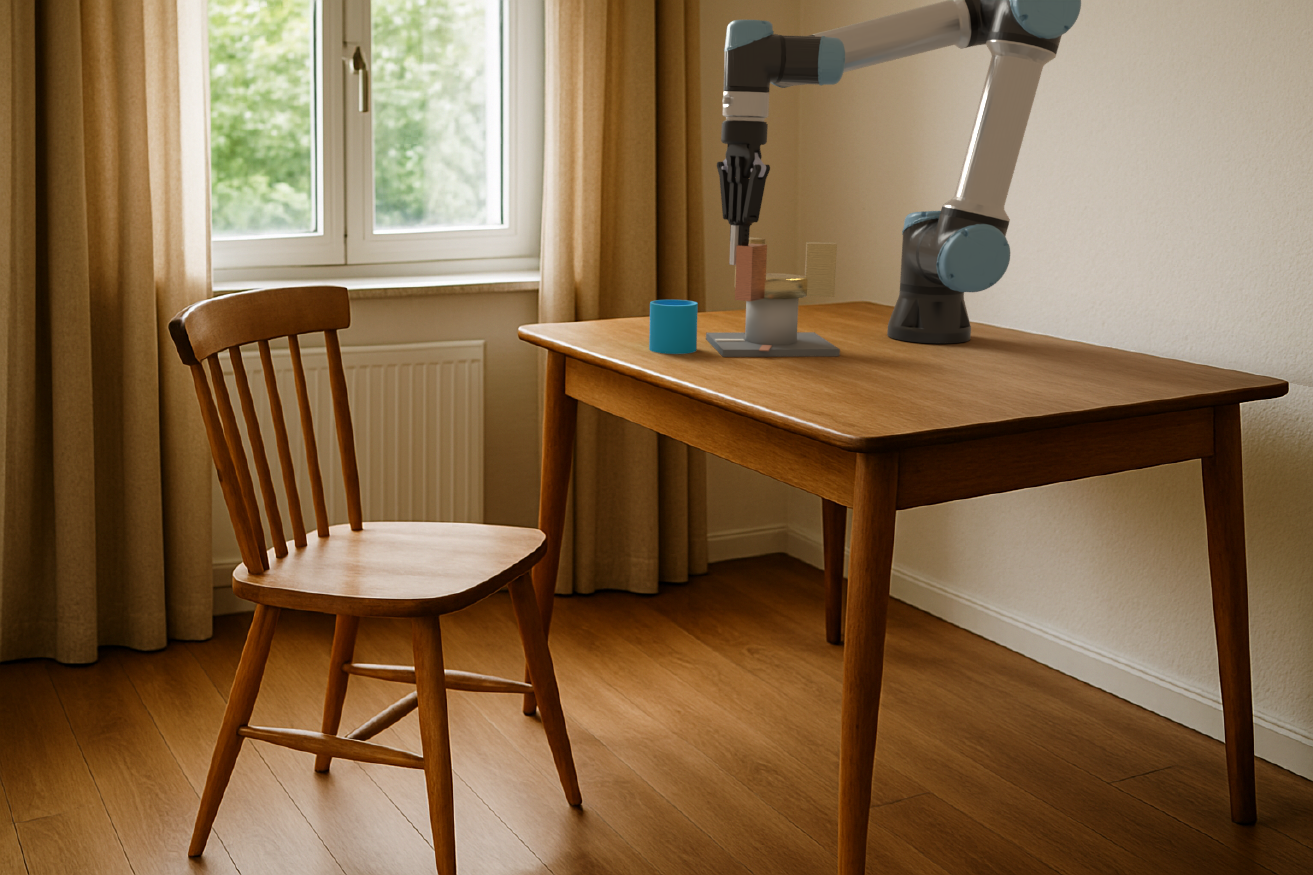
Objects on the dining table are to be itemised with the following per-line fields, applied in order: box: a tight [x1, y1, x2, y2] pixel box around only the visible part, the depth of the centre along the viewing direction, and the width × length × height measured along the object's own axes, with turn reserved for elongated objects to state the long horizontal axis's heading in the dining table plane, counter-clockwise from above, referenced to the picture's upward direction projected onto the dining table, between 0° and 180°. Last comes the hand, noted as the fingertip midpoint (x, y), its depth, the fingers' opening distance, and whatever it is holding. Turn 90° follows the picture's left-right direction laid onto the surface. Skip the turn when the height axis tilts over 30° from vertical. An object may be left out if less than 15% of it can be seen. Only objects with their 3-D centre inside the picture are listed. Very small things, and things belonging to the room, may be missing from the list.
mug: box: [648, 299, 699, 355], centre depth 216 cm, size 12×8×8 cm
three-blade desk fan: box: [734, 236, 838, 302], centre depth 214 cm, size 17×20×9 cm
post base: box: [705, 298, 841, 358], centre depth 217 cm, size 20×20×9 cm
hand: (738, 264), depth 210 cm, fingers closed
